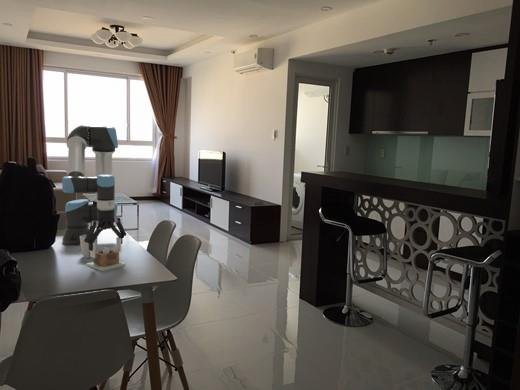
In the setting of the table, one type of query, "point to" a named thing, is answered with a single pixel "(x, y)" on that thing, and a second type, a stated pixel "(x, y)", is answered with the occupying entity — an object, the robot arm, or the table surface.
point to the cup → (86, 246)
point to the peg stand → (103, 268)
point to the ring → (106, 258)
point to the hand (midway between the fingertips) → (106, 254)
